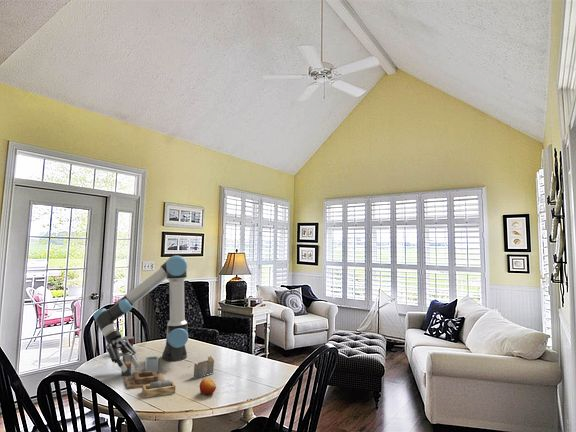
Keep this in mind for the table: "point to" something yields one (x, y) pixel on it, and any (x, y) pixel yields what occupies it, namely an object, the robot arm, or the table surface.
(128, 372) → the cell
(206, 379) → the fruit
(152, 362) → the cup
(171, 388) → the trough
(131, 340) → the mug
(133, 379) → the cradle
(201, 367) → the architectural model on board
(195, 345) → the table surface
